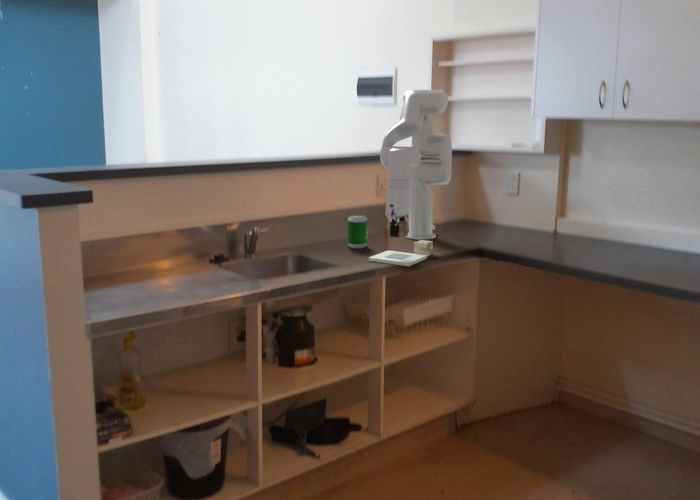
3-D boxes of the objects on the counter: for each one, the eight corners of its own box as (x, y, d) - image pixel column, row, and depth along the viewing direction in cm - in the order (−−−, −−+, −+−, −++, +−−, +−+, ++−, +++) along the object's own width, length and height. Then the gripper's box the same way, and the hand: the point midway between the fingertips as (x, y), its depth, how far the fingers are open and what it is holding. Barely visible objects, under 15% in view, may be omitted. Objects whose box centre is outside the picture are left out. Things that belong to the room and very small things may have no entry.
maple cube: (420, 253, 265) (420, 239, 264) (432, 254, 263) (432, 241, 262) (414, 255, 261) (414, 242, 260) (426, 257, 259) (426, 243, 258)
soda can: (365, 249, 272) (365, 218, 269) (346, 248, 273) (345, 217, 271) (368, 245, 279) (368, 215, 276) (349, 244, 280) (349, 214, 278)
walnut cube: (395, 234, 256) (395, 220, 255) (407, 235, 253) (407, 221, 252) (388, 236, 251) (388, 222, 250) (400, 237, 249) (401, 223, 248)
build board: (388, 253, 264) (388, 249, 264) (426, 258, 256) (427, 255, 255) (368, 260, 253) (368, 257, 252) (408, 266, 244) (408, 262, 244)
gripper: (401, 181, 257) (400, 230, 261) (377, 185, 243) (376, 238, 247) (419, 182, 253) (418, 232, 257) (396, 187, 239) (395, 240, 243)
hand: (398, 234), depth 252 cm, fingers closed on walnut cube, 4 cm apart
